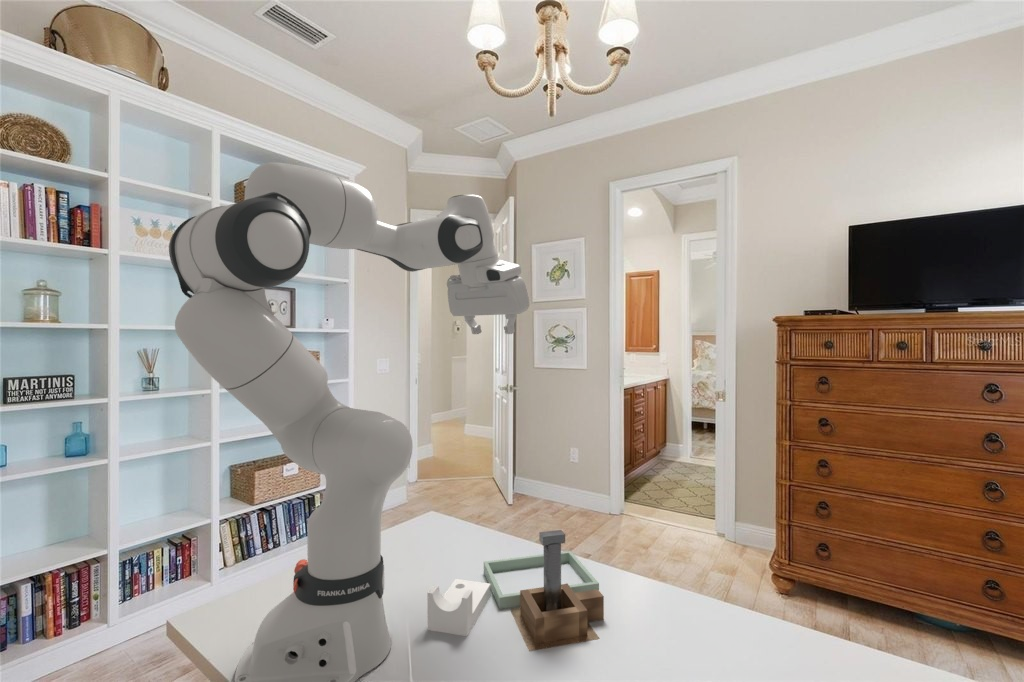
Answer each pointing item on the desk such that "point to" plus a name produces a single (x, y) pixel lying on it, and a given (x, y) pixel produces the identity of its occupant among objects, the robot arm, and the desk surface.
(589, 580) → the sage tray
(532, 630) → the walnut collar
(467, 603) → the bracket
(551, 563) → the post stand
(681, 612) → the desk surface
